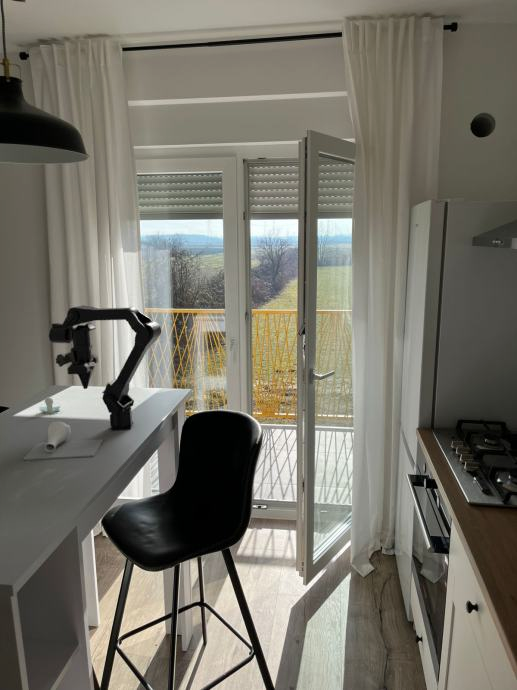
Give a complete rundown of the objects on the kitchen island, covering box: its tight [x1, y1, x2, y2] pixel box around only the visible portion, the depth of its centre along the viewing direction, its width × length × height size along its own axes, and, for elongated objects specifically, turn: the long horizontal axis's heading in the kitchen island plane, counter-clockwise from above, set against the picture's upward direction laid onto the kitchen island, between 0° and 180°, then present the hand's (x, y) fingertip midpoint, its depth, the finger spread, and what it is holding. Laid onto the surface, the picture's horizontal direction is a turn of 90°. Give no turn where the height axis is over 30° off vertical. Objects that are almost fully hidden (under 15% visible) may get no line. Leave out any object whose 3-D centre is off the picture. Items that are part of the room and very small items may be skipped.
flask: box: [45, 421, 72, 452], centre depth 163 cm, size 7×7×10 cm
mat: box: [23, 439, 104, 461], centre depth 161 cm, size 20×13×1 cm, turn 95°
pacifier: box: [39, 396, 61, 415], centre depth 199 cm, size 7×6×6 cm
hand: (85, 388), depth 181 cm, fingers closed
